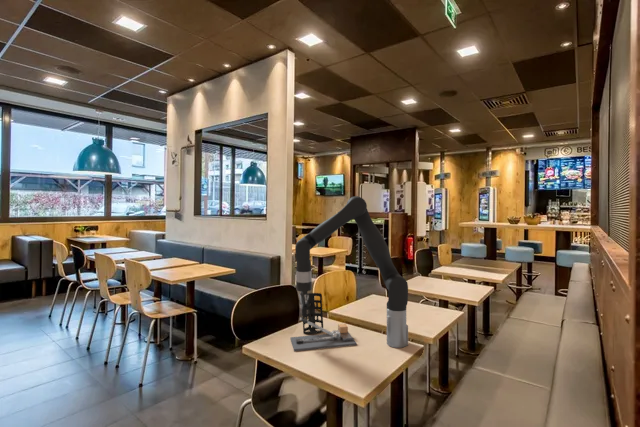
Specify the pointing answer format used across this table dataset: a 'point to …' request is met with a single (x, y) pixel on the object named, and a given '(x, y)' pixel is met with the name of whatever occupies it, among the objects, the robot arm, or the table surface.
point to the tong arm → (315, 326)
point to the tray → (319, 343)
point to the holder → (313, 313)
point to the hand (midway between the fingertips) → (304, 315)
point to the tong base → (328, 338)
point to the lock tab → (342, 328)
